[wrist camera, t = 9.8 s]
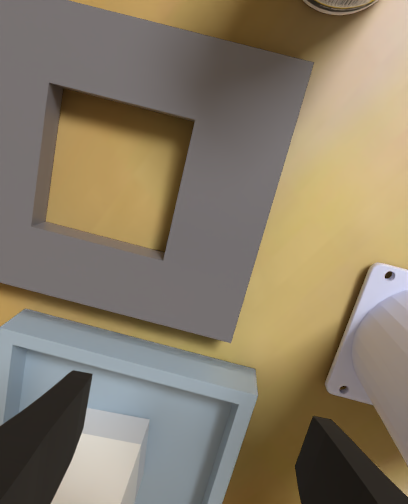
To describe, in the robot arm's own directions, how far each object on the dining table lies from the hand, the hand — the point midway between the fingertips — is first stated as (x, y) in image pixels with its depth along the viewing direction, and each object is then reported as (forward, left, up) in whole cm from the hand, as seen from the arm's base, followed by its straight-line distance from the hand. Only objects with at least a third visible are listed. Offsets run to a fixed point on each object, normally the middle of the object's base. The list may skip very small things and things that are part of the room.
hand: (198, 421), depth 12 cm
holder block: (+7, -6, -10) cm, 13 cm away
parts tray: (+4, +10, -10) cm, 14 cm away
